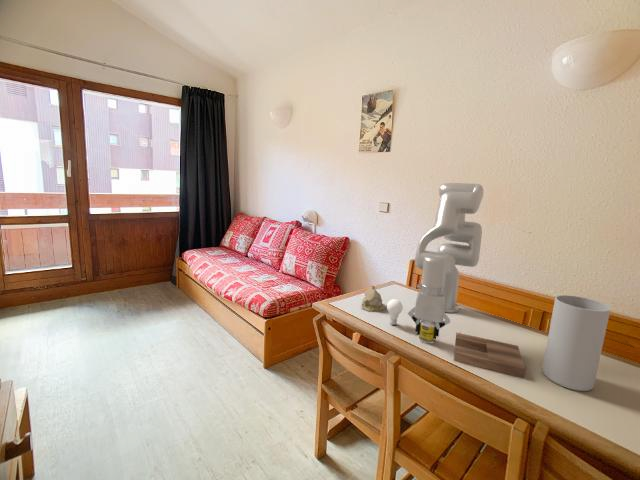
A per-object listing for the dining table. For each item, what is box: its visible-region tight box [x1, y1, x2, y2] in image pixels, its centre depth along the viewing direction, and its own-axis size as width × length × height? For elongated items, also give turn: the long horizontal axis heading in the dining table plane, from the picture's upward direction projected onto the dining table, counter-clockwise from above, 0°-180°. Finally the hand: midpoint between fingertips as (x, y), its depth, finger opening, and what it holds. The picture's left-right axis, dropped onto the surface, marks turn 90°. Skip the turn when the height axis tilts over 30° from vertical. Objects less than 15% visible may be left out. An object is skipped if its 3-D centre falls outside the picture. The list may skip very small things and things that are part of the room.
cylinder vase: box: [541, 294, 611, 392], centre depth 93 cm, size 12×12×25 cm
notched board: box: [453, 332, 526, 379], centre depth 106 cm, size 16×20×3 cm
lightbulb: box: [386, 298, 404, 326], centre depth 127 cm, size 6×6×11 cm
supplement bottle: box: [418, 320, 436, 344], centre depth 115 cm, size 5×5×10 cm
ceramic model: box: [360, 285, 385, 313], centre depth 147 cm, size 14×11×10 cm
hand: (426, 335), depth 116 cm, fingers closed on supplement bottle, 5 cm apart
